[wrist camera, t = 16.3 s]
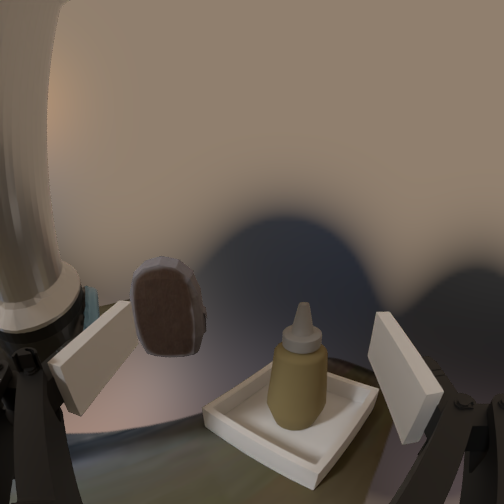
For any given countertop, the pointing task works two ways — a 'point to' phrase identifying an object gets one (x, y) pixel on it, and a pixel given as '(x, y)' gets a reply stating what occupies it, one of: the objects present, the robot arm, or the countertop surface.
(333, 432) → the box
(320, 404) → the squeeze bottle
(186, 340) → the small grey backpack
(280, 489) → the countertop surface
